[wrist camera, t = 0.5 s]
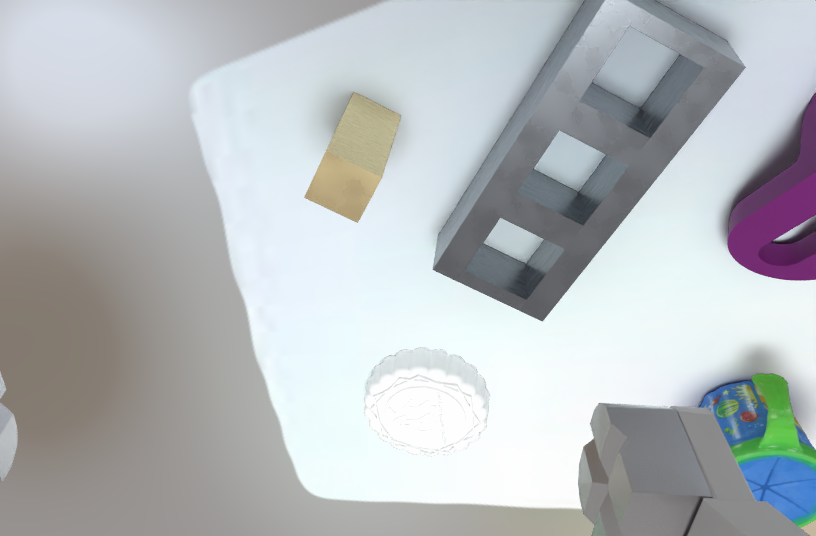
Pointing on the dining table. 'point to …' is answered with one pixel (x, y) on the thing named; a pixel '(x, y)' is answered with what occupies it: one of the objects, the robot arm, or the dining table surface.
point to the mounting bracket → (780, 216)
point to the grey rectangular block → (595, 126)
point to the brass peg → (354, 158)
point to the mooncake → (426, 402)
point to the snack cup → (768, 444)
